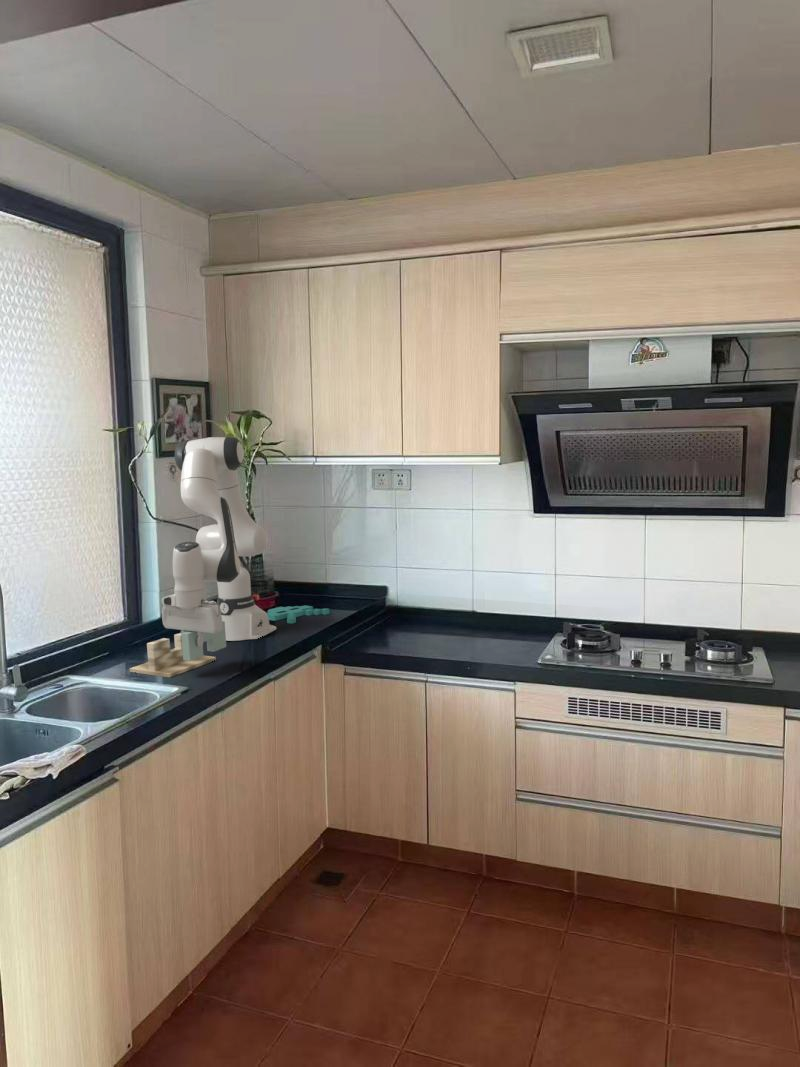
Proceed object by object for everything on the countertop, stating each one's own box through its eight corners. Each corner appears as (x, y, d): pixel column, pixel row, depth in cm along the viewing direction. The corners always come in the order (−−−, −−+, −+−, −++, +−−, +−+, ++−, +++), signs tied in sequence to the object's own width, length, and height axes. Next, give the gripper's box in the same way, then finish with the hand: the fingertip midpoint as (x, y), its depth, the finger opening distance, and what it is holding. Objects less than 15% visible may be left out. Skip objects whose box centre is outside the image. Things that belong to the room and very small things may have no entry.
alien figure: (329, 614, 324) (293, 609, 336) (329, 608, 323) (293, 603, 336) (291, 624, 308) (255, 618, 321) (291, 618, 308) (254, 613, 321)
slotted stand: (177, 655, 268) (175, 627, 267) (216, 660, 261) (214, 631, 260) (129, 671, 251) (127, 642, 250) (169, 677, 243) (167, 647, 242)
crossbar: (220, 646, 257) (218, 620, 256) (226, 646, 256) (224, 621, 255) (183, 660, 243) (181, 633, 242) (190, 661, 242) (188, 633, 241)
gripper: (225, 598, 241) (229, 645, 243) (172, 594, 251) (175, 639, 253) (211, 603, 236) (214, 651, 238) (157, 598, 245) (160, 644, 247)
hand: (194, 645), depth 245 cm, fingers closed on crossbar, 2 cm apart
